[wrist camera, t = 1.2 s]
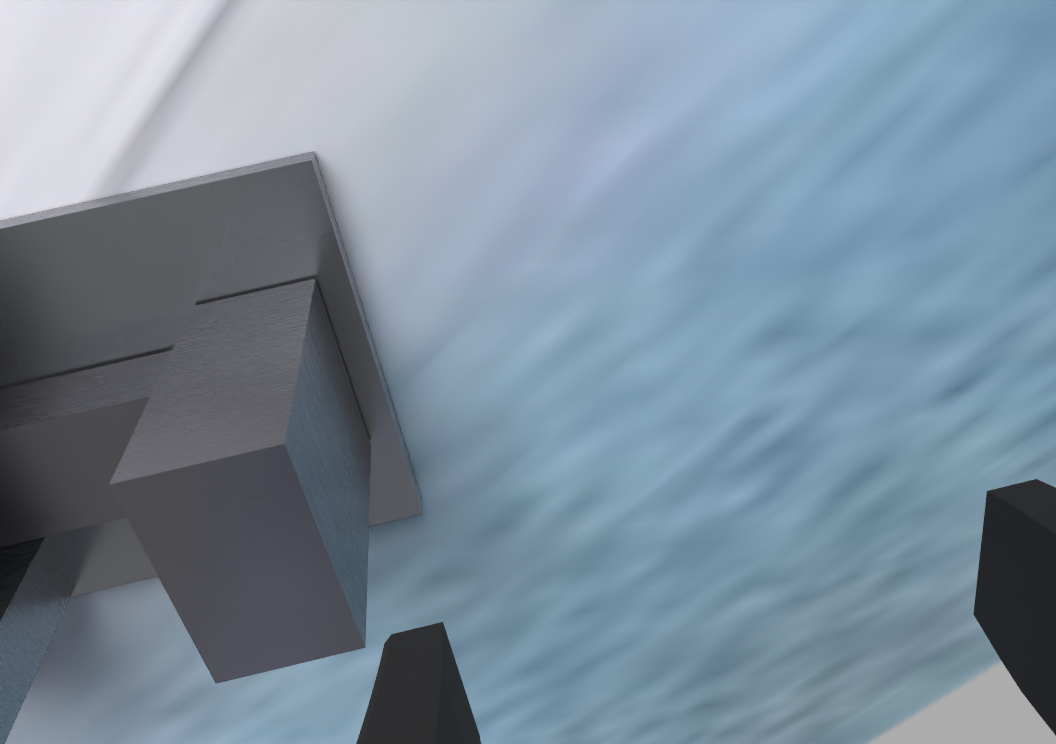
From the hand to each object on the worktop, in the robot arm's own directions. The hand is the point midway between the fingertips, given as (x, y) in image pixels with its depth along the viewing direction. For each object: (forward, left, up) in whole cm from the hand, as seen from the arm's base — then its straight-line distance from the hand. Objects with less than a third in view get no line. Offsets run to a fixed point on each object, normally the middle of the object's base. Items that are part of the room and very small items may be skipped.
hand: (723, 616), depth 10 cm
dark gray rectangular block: (-5, +8, -9) cm, 13 cm away
